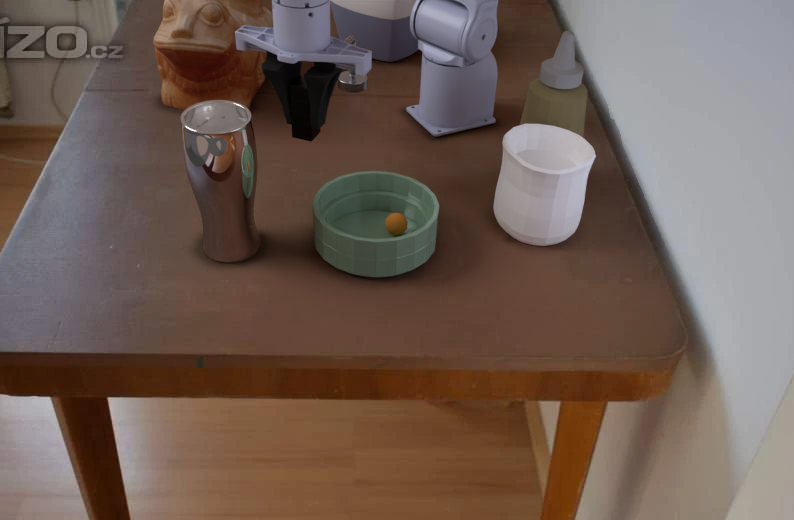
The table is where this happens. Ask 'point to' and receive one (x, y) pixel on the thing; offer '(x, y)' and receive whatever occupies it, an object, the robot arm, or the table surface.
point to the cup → (542, 183)
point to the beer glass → (223, 176)
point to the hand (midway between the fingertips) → (305, 123)
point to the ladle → (302, 103)
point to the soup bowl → (374, 223)
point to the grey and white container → (377, 26)
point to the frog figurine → (209, 51)
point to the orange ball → (396, 224)
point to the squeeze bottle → (558, 91)
